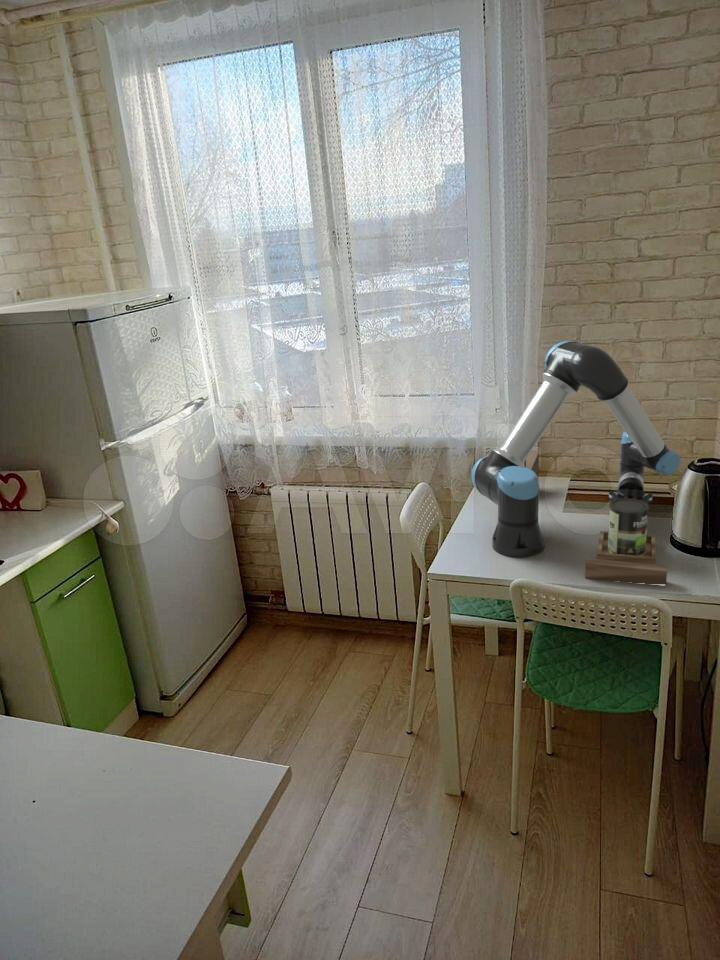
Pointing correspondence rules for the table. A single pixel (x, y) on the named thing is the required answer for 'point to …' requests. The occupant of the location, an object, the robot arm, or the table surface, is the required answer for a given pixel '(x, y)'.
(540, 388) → the robot arm
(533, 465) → the wooden block
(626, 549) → the coffee can
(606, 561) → the block
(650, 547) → the brown wooden tray
